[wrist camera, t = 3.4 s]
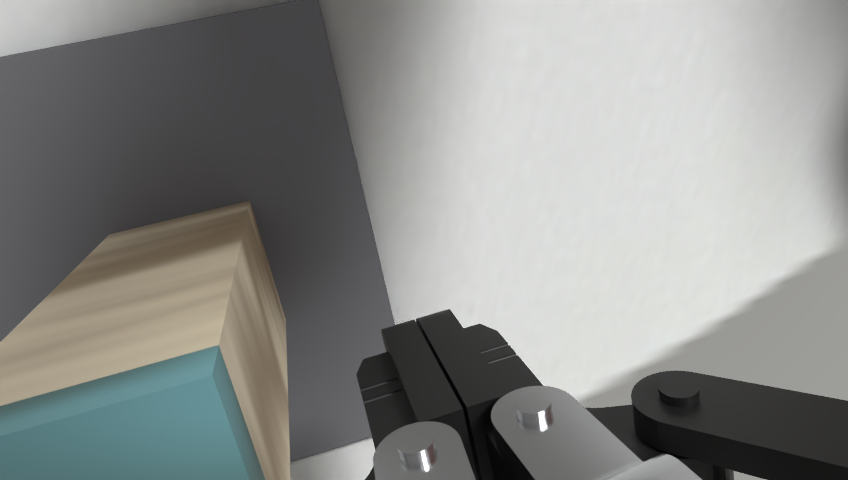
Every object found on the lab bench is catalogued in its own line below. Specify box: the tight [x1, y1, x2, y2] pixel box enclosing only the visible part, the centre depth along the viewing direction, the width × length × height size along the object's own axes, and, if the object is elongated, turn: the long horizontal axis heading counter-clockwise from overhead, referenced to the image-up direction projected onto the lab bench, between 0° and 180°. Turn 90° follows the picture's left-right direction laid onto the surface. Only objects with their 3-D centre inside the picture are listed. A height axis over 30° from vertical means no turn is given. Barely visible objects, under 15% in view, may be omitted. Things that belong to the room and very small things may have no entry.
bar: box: [0, 201, 291, 480], centre depth 14 cm, size 4×4×12 cm
